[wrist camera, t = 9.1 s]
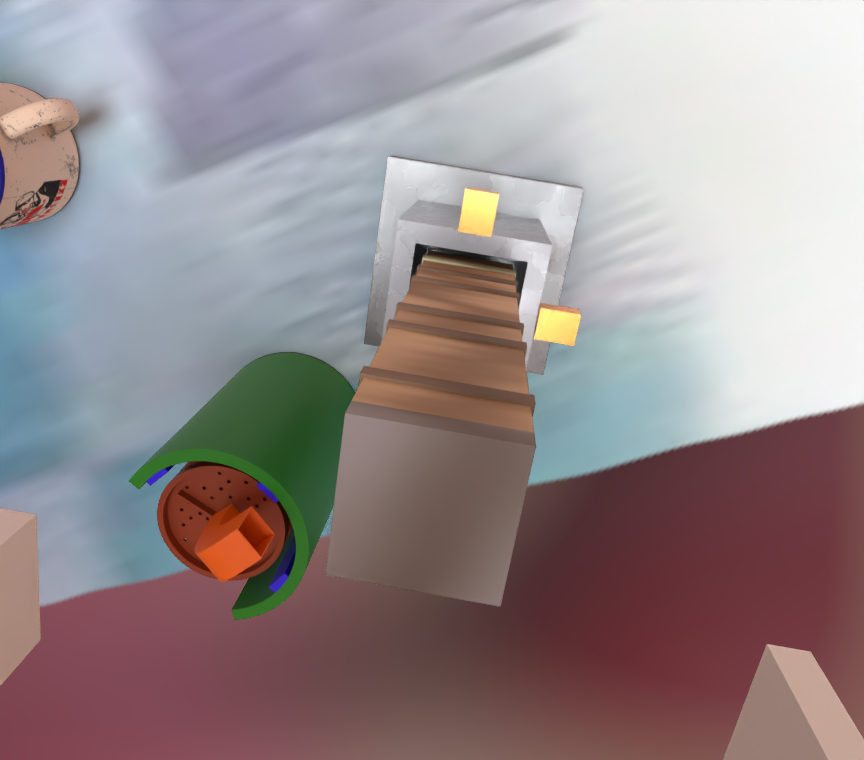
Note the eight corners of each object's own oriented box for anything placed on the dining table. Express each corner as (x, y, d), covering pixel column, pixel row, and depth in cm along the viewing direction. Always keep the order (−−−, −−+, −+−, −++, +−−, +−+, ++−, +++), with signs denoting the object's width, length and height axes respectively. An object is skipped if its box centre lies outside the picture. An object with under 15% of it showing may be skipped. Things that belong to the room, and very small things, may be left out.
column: (414, 332, 40) (320, 577, 18) (427, 248, 38) (341, 408, 17) (498, 346, 40) (503, 610, 18) (514, 262, 38) (541, 443, 17)
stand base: (367, 337, 50) (329, 401, 38) (391, 155, 46) (356, 166, 34) (541, 367, 50) (556, 440, 38) (581, 187, 46) (610, 208, 34)
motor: (206, 405, 53) (46, 562, 34) (287, 322, 50) (163, 442, 31) (309, 499, 54) (211, 696, 36) (392, 423, 52) (335, 594, 33)
